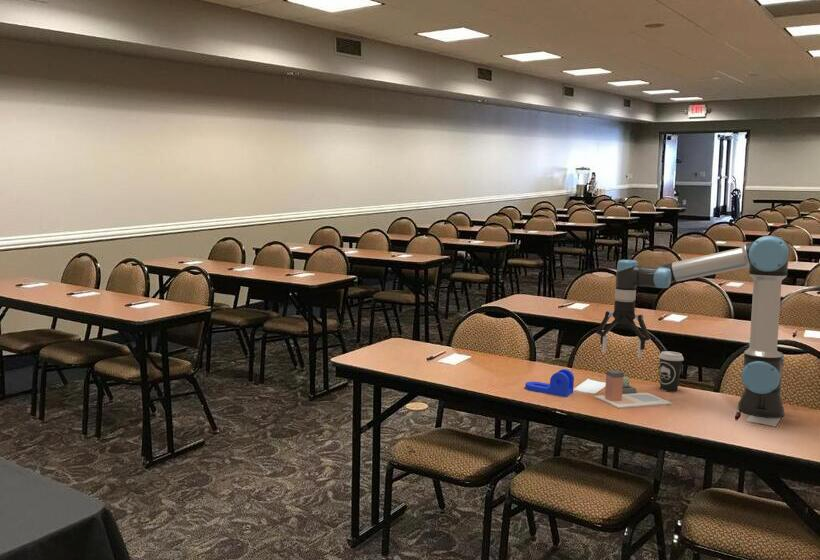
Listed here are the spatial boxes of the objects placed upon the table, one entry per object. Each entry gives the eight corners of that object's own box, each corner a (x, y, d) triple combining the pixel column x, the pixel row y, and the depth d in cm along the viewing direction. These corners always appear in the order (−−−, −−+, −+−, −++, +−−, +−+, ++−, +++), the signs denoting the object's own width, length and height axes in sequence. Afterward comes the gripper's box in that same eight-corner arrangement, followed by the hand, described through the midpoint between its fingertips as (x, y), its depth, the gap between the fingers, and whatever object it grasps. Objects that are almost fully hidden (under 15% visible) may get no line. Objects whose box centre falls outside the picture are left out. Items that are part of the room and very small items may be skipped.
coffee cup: (683, 393, 276) (686, 356, 275) (658, 391, 278) (661, 354, 277) (679, 387, 286) (681, 351, 284) (654, 385, 288) (657, 350, 286)
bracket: (573, 392, 272) (574, 370, 271) (566, 397, 265) (568, 374, 264) (529, 385, 281) (530, 363, 280) (522, 389, 274) (523, 367, 273)
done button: (631, 388, 273) (631, 378, 273) (622, 389, 272) (623, 379, 272) (624, 385, 277) (625, 376, 277) (616, 386, 276) (616, 376, 275)
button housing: (636, 394, 273) (636, 388, 272) (621, 395, 270) (621, 389, 270) (625, 389, 279) (625, 383, 279) (610, 390, 277) (610, 384, 277)
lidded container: (622, 400, 260) (624, 372, 259) (611, 401, 258) (613, 373, 257) (614, 397, 264) (616, 370, 263) (604, 397, 263) (606, 370, 262)
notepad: (672, 404, 260) (672, 402, 259) (618, 408, 252) (618, 406, 252) (646, 393, 274) (646, 392, 274) (594, 397, 266) (594, 395, 266)
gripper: (661, 302, 260) (657, 358, 262) (596, 296, 274) (593, 349, 276) (655, 304, 254) (651, 361, 256) (589, 298, 268) (586, 352, 270)
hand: (621, 355), depth 266 cm, fingers open, 13 cm apart
